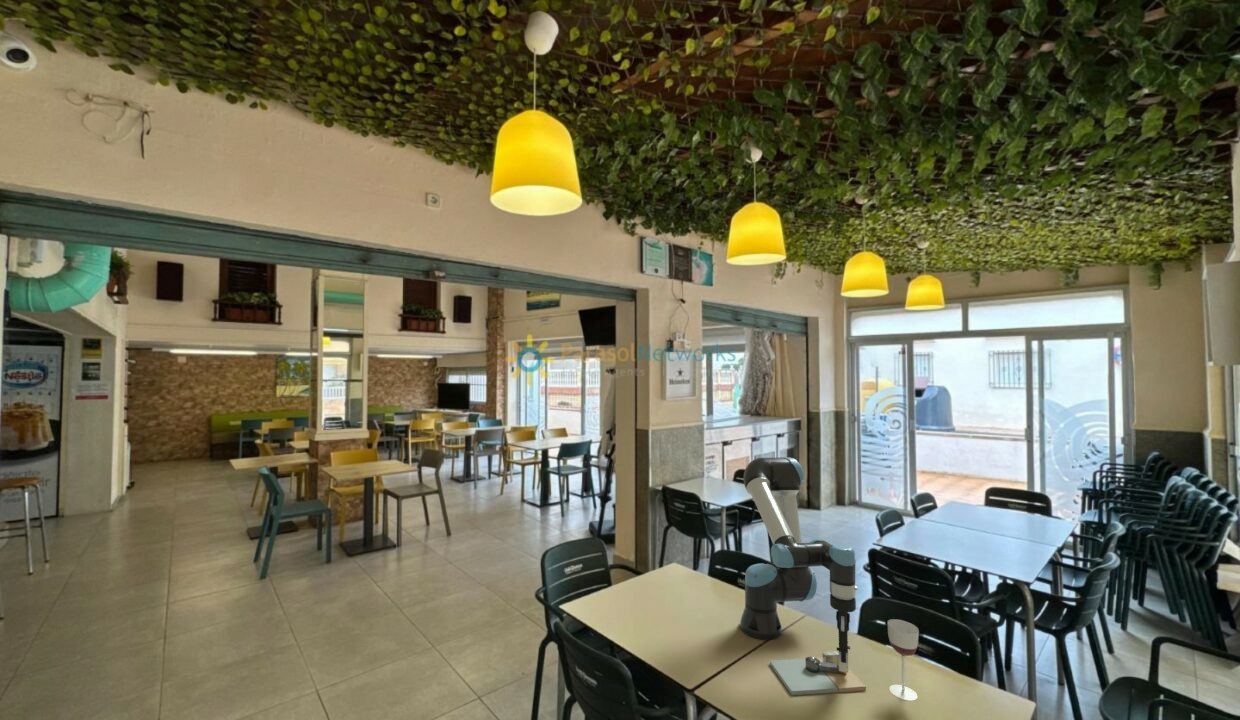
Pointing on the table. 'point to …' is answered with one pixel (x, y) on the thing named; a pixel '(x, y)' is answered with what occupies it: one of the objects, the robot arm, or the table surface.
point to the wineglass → (903, 652)
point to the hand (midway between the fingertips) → (843, 670)
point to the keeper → (830, 657)
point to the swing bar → (822, 666)
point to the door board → (813, 678)
